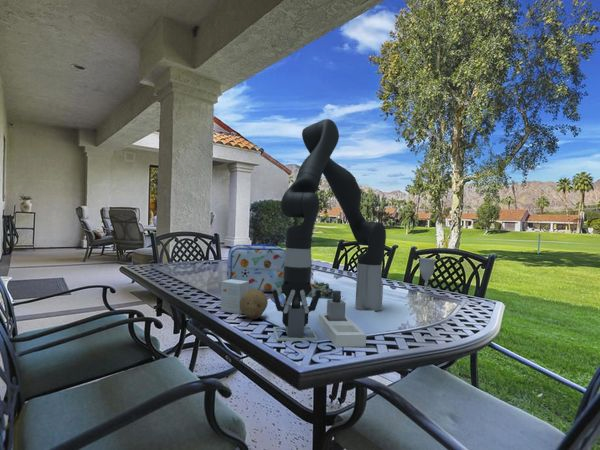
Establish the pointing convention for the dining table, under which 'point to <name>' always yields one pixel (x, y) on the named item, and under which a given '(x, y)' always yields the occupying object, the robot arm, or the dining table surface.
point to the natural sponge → (253, 303)
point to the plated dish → (322, 290)
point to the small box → (232, 295)
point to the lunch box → (257, 266)
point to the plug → (296, 319)
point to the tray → (295, 338)
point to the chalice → (426, 272)
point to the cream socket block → (342, 332)
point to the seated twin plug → (336, 308)
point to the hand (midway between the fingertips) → (294, 325)
